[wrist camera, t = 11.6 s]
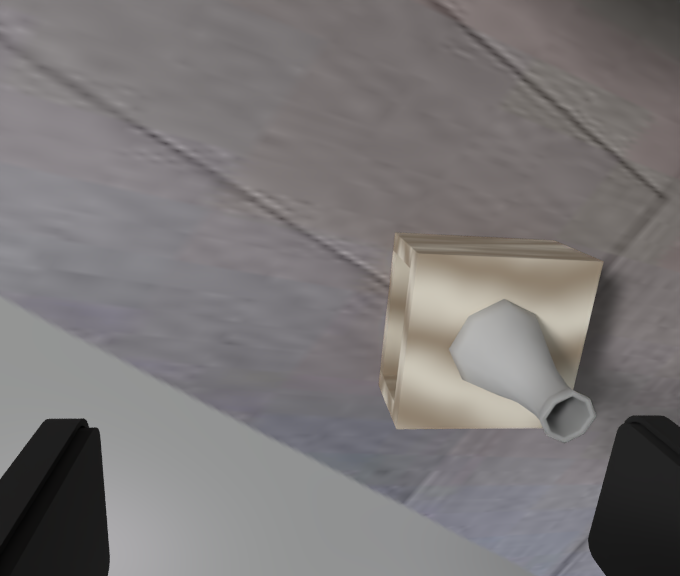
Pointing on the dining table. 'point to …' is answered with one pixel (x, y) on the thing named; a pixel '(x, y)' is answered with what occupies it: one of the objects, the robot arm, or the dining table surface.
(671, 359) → the dining table surface
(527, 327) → the flask
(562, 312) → the grooved beige box
